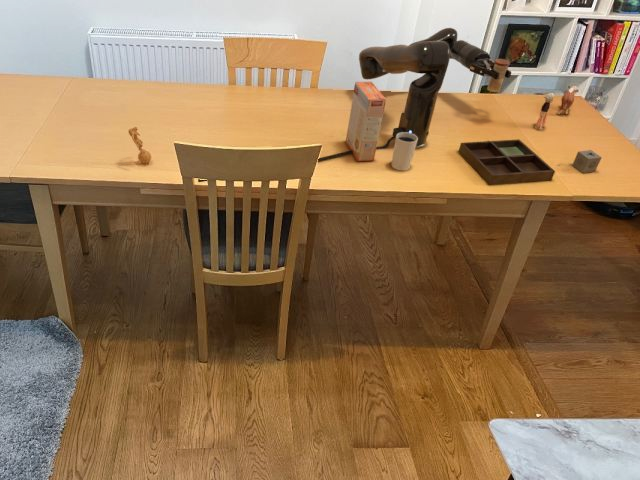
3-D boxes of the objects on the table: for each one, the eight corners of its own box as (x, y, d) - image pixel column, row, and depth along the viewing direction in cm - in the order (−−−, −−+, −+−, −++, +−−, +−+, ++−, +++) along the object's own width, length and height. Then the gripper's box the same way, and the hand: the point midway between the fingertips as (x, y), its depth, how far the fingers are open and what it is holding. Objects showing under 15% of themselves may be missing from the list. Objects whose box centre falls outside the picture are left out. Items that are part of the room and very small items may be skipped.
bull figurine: (572, 106, 228) (581, 85, 223) (566, 118, 219) (574, 97, 214) (561, 103, 230) (569, 82, 224) (554, 115, 221) (562, 94, 216)
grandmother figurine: (545, 132, 210) (559, 97, 201) (534, 130, 210) (547, 96, 202) (542, 122, 215) (555, 89, 207) (531, 121, 216) (544, 88, 207)
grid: (489, 185, 180) (492, 175, 178) (458, 151, 196) (460, 142, 193) (551, 180, 183) (555, 171, 181) (516, 148, 199) (519, 139, 197)
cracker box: (375, 161, 188) (387, 98, 175) (357, 162, 187) (367, 99, 174) (362, 141, 199) (372, 80, 185) (345, 141, 198) (354, 80, 184)
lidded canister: (490, 92, 204) (499, 64, 198) (483, 87, 208) (492, 58, 201) (503, 92, 205) (512, 63, 198) (496, 86, 209) (505, 58, 202)
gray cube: (595, 171, 189) (601, 157, 186) (582, 172, 188) (588, 159, 185) (584, 163, 193) (590, 149, 189) (572, 165, 191) (578, 151, 188)
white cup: (395, 158, 190) (401, 130, 184) (414, 165, 187) (421, 136, 181) (386, 166, 186) (392, 137, 179) (405, 173, 183) (412, 144, 177)
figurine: (151, 169, 179) (148, 132, 171) (131, 169, 178) (127, 133, 170) (151, 156, 185) (148, 120, 177) (132, 156, 184) (128, 120, 177)
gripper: (486, 66, 217) (517, 84, 205) (454, 70, 213) (483, 88, 201) (492, 46, 212) (524, 63, 200) (459, 49, 208) (490, 67, 196)
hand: (503, 75), depth 201 cm, fingers closed on lidded canister, 4 cm apart
